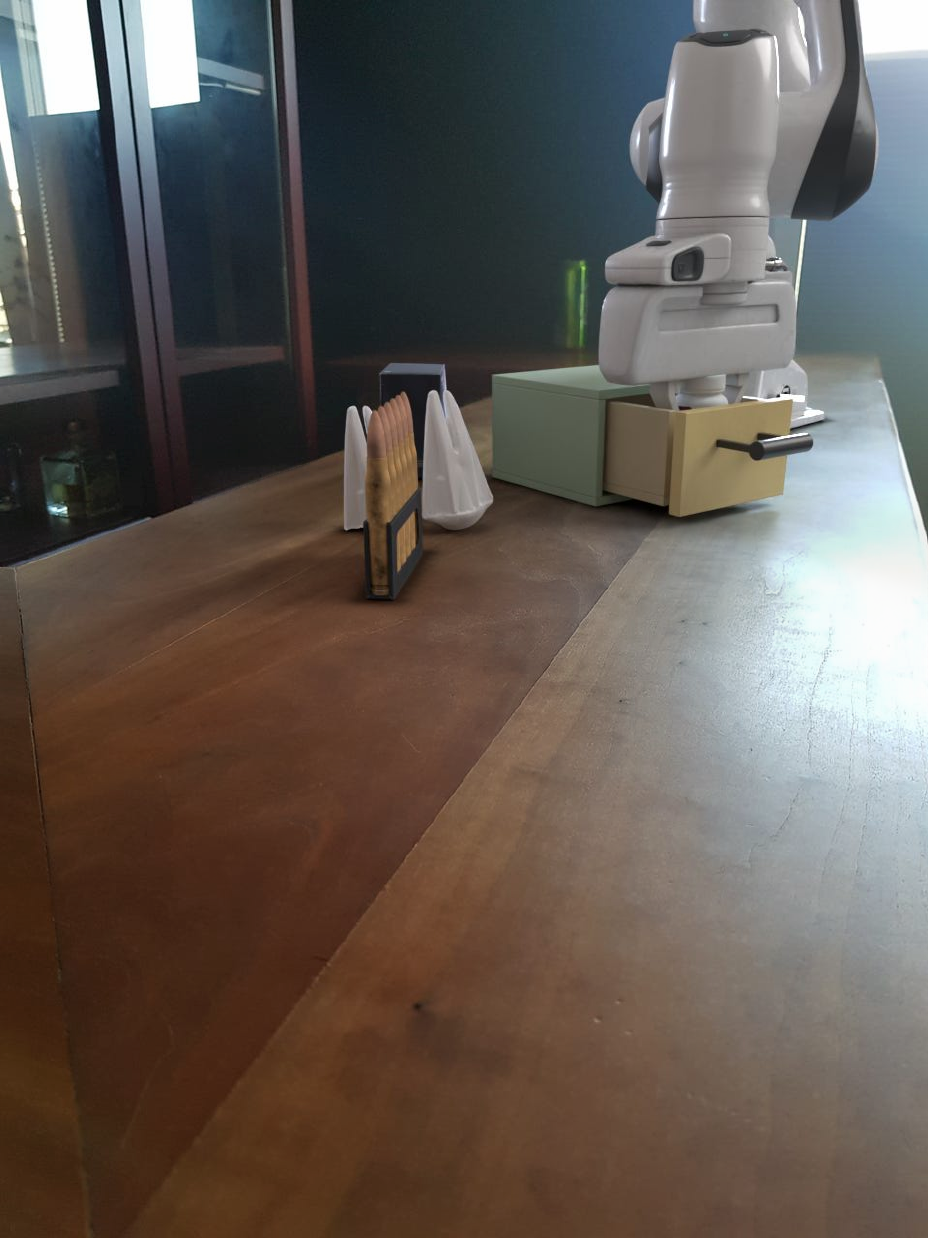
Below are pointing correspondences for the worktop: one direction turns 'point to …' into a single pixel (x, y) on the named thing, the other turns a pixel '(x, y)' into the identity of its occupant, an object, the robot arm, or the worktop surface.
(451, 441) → the shaker set
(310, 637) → the worktop surface
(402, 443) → the ammunition clip
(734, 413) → the drawer
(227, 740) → the worktop surface
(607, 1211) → the worktop surface
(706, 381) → the pill bottle
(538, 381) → the cabinet
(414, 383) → the small box
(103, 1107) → the worktop surface
